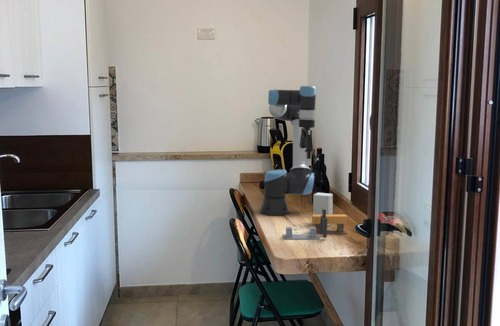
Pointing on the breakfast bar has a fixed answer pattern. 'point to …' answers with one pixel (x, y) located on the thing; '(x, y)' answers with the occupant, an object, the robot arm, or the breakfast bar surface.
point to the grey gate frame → (323, 224)
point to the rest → (332, 231)
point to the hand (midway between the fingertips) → (305, 163)
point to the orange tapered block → (330, 218)
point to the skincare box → (323, 203)
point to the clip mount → (300, 236)
